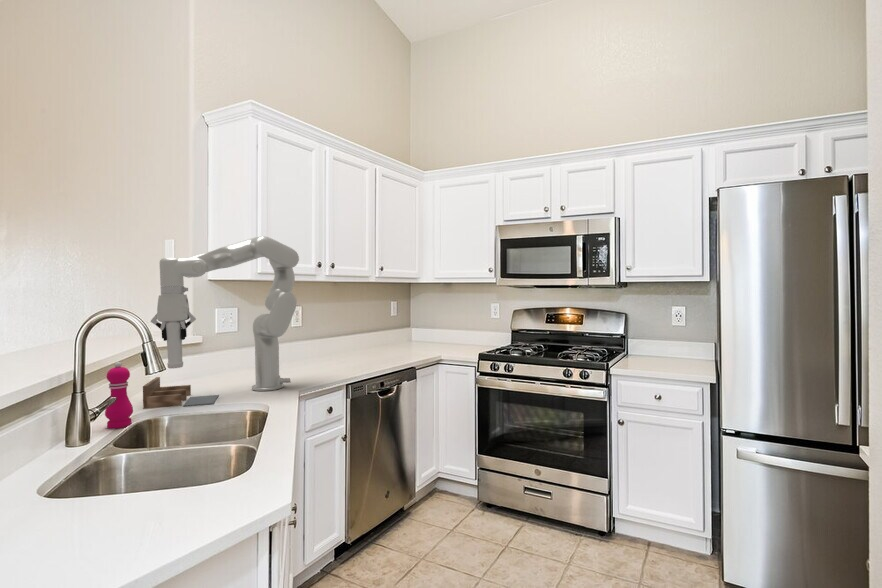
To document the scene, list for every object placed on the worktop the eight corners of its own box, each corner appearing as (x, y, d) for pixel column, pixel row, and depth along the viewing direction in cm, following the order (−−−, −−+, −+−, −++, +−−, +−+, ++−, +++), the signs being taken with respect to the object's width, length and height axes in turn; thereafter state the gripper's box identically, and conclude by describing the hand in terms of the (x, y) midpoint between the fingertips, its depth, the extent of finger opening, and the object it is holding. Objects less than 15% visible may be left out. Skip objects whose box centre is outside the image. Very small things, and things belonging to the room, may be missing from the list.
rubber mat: (218, 396, 185) (218, 394, 185) (213, 404, 172) (213, 402, 172) (190, 398, 182) (190, 396, 182) (182, 406, 169) (182, 405, 169)
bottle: (176, 368, 172) (173, 300, 171) (164, 368, 173) (161, 300, 172) (186, 366, 177) (183, 300, 176) (174, 366, 178) (171, 300, 177)
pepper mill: (119, 429, 142) (117, 364, 142) (99, 428, 143) (97, 363, 143) (139, 423, 149) (137, 360, 149) (119, 422, 150) (118, 360, 150)
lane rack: (190, 394, 188) (190, 374, 188) (181, 405, 171) (180, 383, 171) (156, 397, 185) (156, 377, 184) (143, 408, 167) (142, 386, 167)
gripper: (199, 290, 180) (201, 337, 181) (149, 291, 175) (151, 340, 175) (196, 290, 173) (198, 339, 173) (143, 292, 168) (145, 342, 168)
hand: (174, 339), depth 174 cm, fingers closed on bottle, 5 cm apart
